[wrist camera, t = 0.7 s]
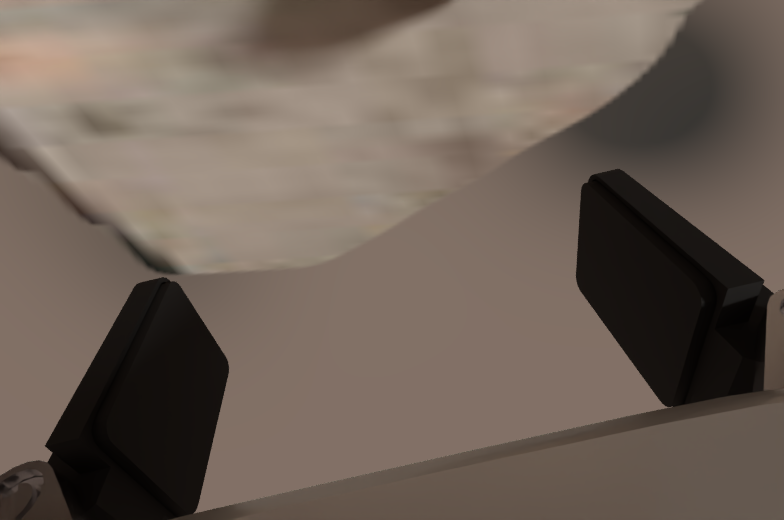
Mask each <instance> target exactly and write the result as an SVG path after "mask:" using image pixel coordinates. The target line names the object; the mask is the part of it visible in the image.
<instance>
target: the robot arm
mask: <svg viewBox="0 0 784 520" xmlns="http://www.w3.org/2000/svg"><path fill="white" fill-rule="evenodd" d="M576 280H577V284H578V287H579V289H580V291H581V292H582V294H583V295H584V296H585V298H586V299H587V300H588V302H589V303H590V305H591V306H592V307H593V309H594V310H595V312H596V313H597V315H598V316H599V317H600V319H601V320H602V321H603V323H604V324H605V326H606V327H607V328H608V330H609V331H610V332H611V334H612V335H613V337H614V338H615V339H616V341H617V342H618V343H619V345H620V346H621V348H622V349H623V350H624V352H625V353H626V354H627V356H628V357H629V359H630V360H631V361H632V363H633V364H634V366H635V367H636V368H637V370H638V371H639V372H640V374H641V375H642V377H643V378H644V379H645V381H646V382H647V383H648V385H649V386H650V388H651V389H652V390H653V392H654V393H655V394H656V396H657V397H658V399H659V400H660V401H661V402H662V404H664V405H665V406H667V407H671V408H666V409H661V410H656V411H651V412H646V413H641V414H636V415H631V416H626V417H622V418H617V419H613V420H608V421H604V422H599V423H595V424H590V425H585V426H581V427H576V428H572V429H567V430H563V431H558V432H553V433H549V434H544V435H540V436H535V437H531V438H526V439H522V440H517V441H512V442H508V443H503V444H499V445H495V446H490V447H485V448H481V449H476V450H472V451H467V452H463V453H458V454H454V455H449V456H445V457H440V458H436V459H431V460H427V461H423V462H418V463H414V464H409V465H405V466H401V467H396V468H391V469H387V470H383V471H378V472H374V473H369V474H365V475H360V476H356V477H351V478H347V479H343V480H338V481H334V482H330V483H325V484H320V485H316V486H312V487H308V488H303V489H299V490H294V491H290V492H286V493H282V494H277V495H273V496H269V497H264V498H260V499H256V500H251V501H247V502H242V503H238V504H234V505H229V506H225V507H221V508H216V509H212V510H208V511H204V512H199V513H195V514H193V513H194V512H195V511H196V509H197V506H198V503H199V499H200V495H201V490H202V486H203V482H204V477H205V473H206V469H207V464H208V460H209V456H210V451H211V447H212V443H213V438H214V434H215V429H216V425H217V421H218V417H219V412H220V408H221V404H222V399H223V395H224V391H225V386H226V382H227V378H228V373H229V365H228V361H227V359H226V357H225V355H224V353H223V352H222V351H221V349H220V347H219V346H218V344H217V343H216V341H215V339H214V338H213V336H212V335H211V333H210V332H209V330H208V329H207V327H206V325H205V324H204V322H203V321H202V319H201V318H200V316H199V315H198V313H197V312H196V310H195V309H194V307H193V305H192V304H191V302H190V301H189V299H188V298H187V296H186V294H185V293H184V292H183V290H182V288H181V287H180V286H179V284H178V283H176V282H170V280H168V279H167V278H164V277H162V278H158V279H154V280H149V281H145V282H141V283H138V284H137V285H136V286H135V287H134V288H133V291H132V292H131V294H130V296H129V297H128V299H127V301H126V303H125V305H124V306H123V308H122V310H121V312H120V313H119V315H118V317H117V319H116V321H115V322H114V324H113V326H112V328H111V329H110V331H109V333H108V335H107V336H106V338H105V340H104V342H103V344H102V346H101V347H100V349H99V351H98V353H97V354H96V356H95V358H94V360H93V361H92V363H91V365H90V367H89V368H88V370H87V372H86V374H85V376H84V377H83V379H82V381H81V383H80V385H79V386H78V388H77V390H76V392H75V393H74V395H73V397H72V399H71V401H70V402H69V404H68V406H67V408H66V410H65V411H64V413H63V415H62V416H61V419H60V420H59V422H58V424H57V425H56V427H55V429H54V431H53V432H52V434H51V436H50V438H49V440H48V441H47V443H46V445H45V447H47V448H48V449H49V450H50V451H51V452H53V453H52V455H51V457H50V459H49V461H48V462H44V461H39V460H38V461H31V462H26V463H24V464H21V465H19V466H16V467H14V468H12V469H10V470H9V471H7V472H6V473H4V474H2V475H1V476H0V520H784V289H782V290H778V291H777V292H776V293H773V292H771V291H770V290H769V289H768V288H766V287H765V286H764V285H763V283H764V280H763V279H762V278H761V277H760V276H758V275H757V274H756V273H754V272H753V271H752V270H750V269H749V268H748V267H747V266H745V265H744V264H743V263H741V262H740V261H739V260H738V259H736V258H735V257H734V256H732V255H731V254H729V253H728V252H727V251H726V250H725V249H723V248H722V247H721V246H719V245H718V244H717V243H716V242H714V241H713V240H712V239H710V238H709V237H708V236H706V235H705V234H704V233H703V232H701V231H700V230H699V229H697V228H696V227H695V226H693V225H692V224H691V223H689V222H688V221H687V220H686V219H685V218H683V217H682V216H680V215H679V214H678V213H677V212H675V211H674V210H673V209H672V208H670V207H669V206H668V205H666V204H665V203H664V202H662V201H661V200H660V199H658V198H657V197H656V196H655V195H653V194H652V193H651V192H650V191H648V190H647V189H646V188H644V187H643V186H642V185H641V184H639V183H638V182H637V181H635V180H634V179H633V178H631V177H630V176H629V175H627V174H626V173H625V172H624V171H622V170H620V169H615V170H611V171H607V172H602V173H598V174H594V175H592V176H591V177H590V178H589V181H588V183H584V184H583V186H582V189H581V202H580V219H579V235H578V251H577V268H576ZM672 406H673V407H672Z"/></svg>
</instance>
